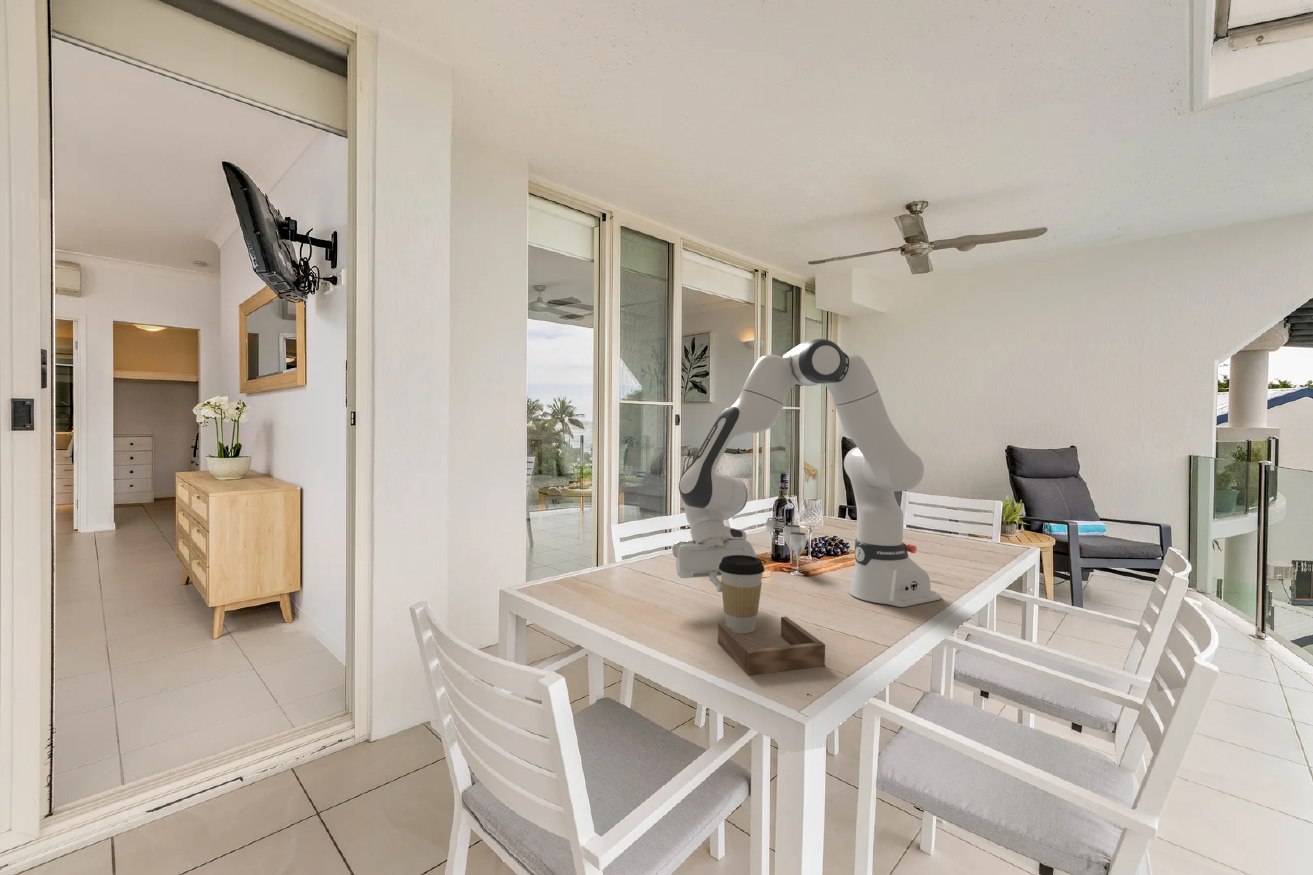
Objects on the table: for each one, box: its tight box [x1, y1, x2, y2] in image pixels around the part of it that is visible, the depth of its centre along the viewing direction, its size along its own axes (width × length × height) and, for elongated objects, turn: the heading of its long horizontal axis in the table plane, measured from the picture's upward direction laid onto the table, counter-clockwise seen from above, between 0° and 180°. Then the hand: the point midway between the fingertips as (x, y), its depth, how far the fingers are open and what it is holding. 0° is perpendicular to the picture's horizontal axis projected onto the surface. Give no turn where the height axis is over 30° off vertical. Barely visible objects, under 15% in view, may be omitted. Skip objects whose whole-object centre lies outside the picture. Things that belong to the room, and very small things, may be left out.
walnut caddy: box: [717, 616, 826, 676], centre depth 107 cm, size 15×15×4 cm
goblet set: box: [765, 517, 807, 576], centre depth 174 cm, size 28×6×13 cm, turn 5°
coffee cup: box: [719, 555, 765, 635], centre depth 120 cm, size 10×10×15 cm
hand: (724, 590), depth 129 cm, fingers closed
